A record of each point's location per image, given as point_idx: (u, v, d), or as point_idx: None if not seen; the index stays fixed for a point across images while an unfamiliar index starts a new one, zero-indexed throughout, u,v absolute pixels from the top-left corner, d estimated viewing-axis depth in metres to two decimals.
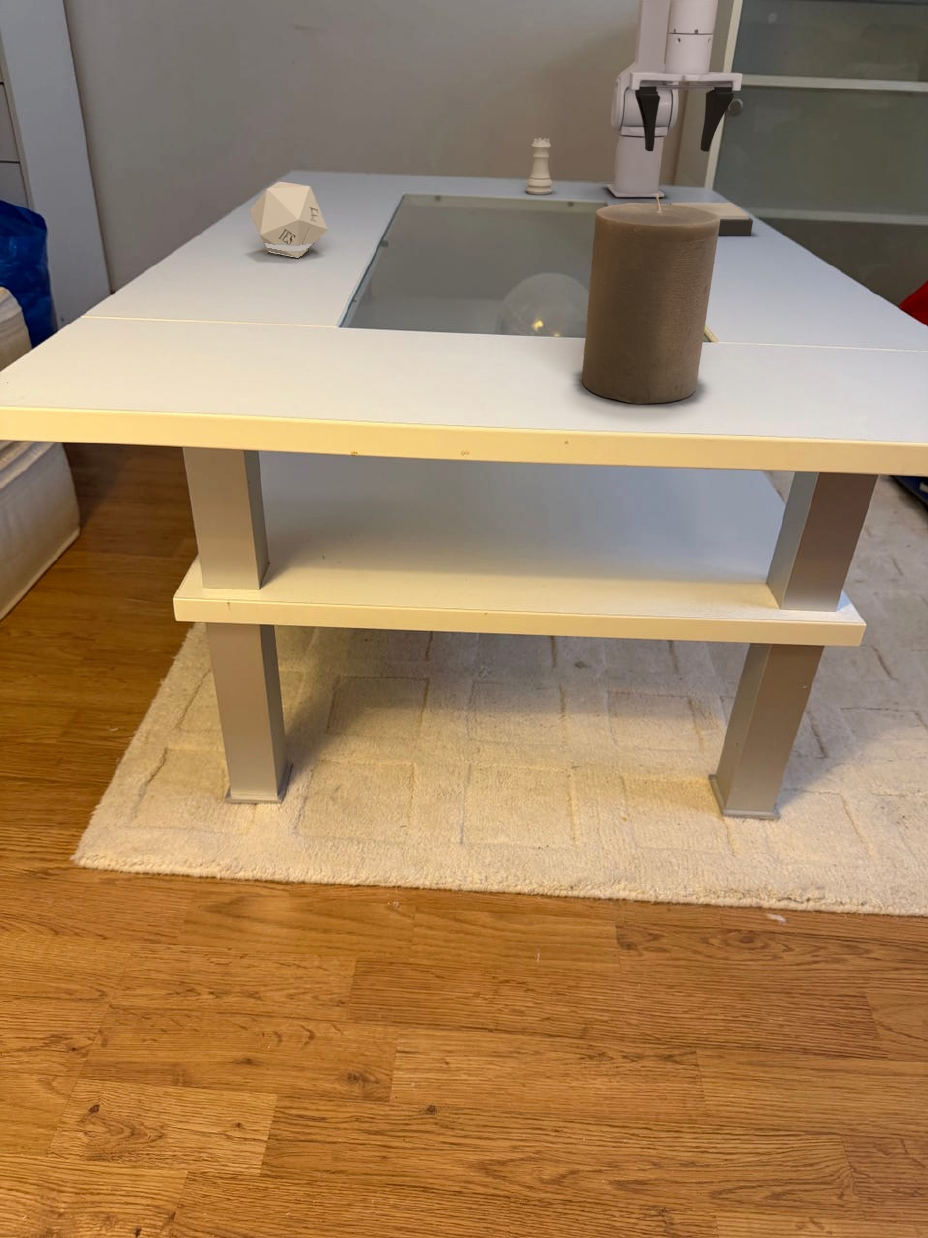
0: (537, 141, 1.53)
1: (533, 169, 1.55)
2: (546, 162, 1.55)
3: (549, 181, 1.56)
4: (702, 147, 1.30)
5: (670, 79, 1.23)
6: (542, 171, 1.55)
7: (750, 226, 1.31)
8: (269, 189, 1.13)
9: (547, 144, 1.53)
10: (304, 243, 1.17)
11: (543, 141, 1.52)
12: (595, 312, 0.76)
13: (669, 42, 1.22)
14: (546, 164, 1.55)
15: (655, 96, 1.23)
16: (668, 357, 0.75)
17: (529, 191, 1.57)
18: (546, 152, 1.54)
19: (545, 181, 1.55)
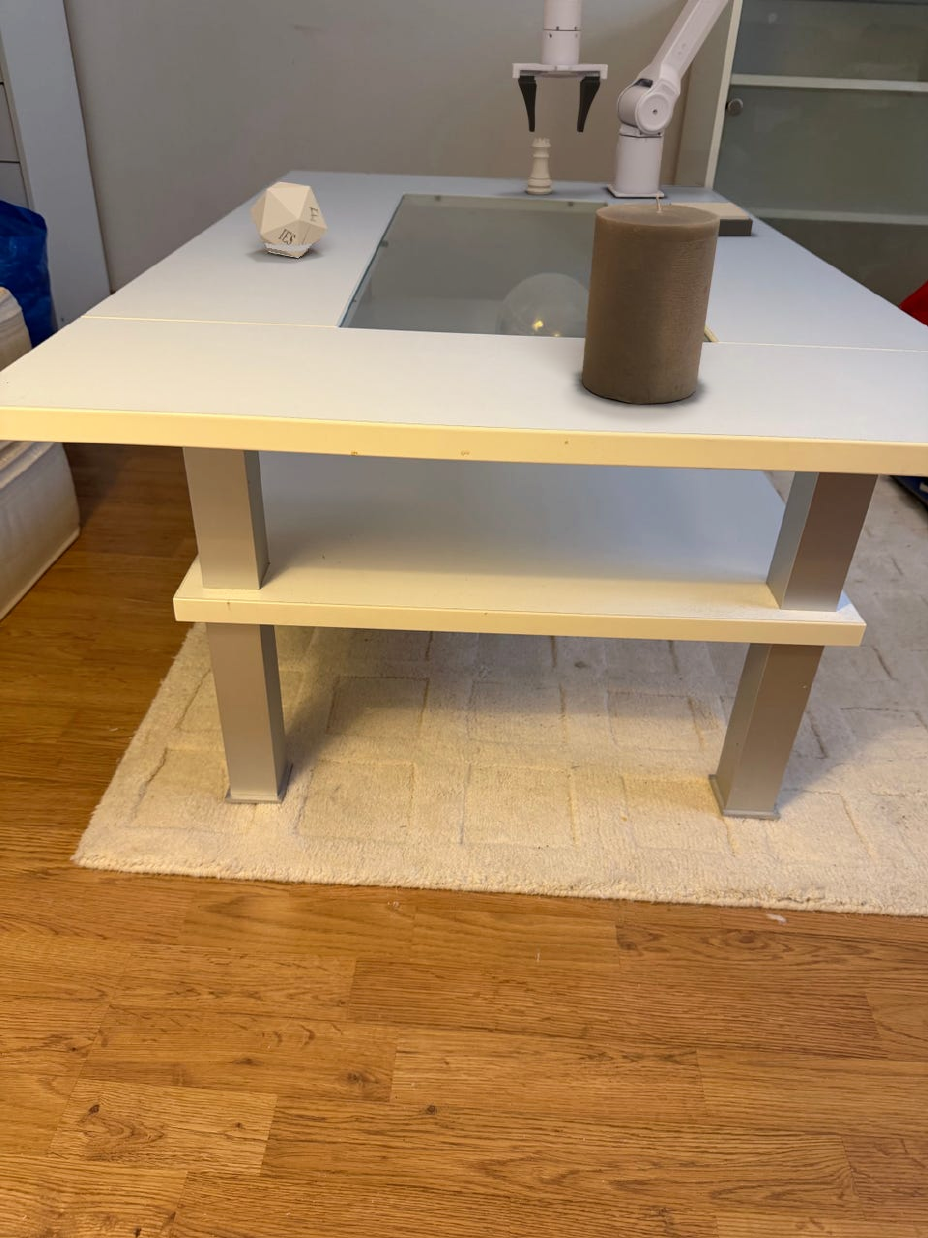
0: (537, 141, 1.53)
1: (533, 169, 1.55)
2: (546, 162, 1.55)
3: (549, 181, 1.56)
4: (578, 128, 1.50)
5: (544, 69, 1.43)
6: (542, 171, 1.55)
7: (750, 226, 1.31)
8: (269, 189, 1.13)
9: (547, 144, 1.53)
10: (304, 243, 1.17)
11: (543, 141, 1.52)
12: (595, 312, 0.76)
13: (543, 37, 1.42)
14: (546, 164, 1.55)
15: (532, 83, 1.44)
16: (668, 357, 0.75)
17: (529, 191, 1.57)
18: (546, 152, 1.54)
19: (545, 181, 1.55)
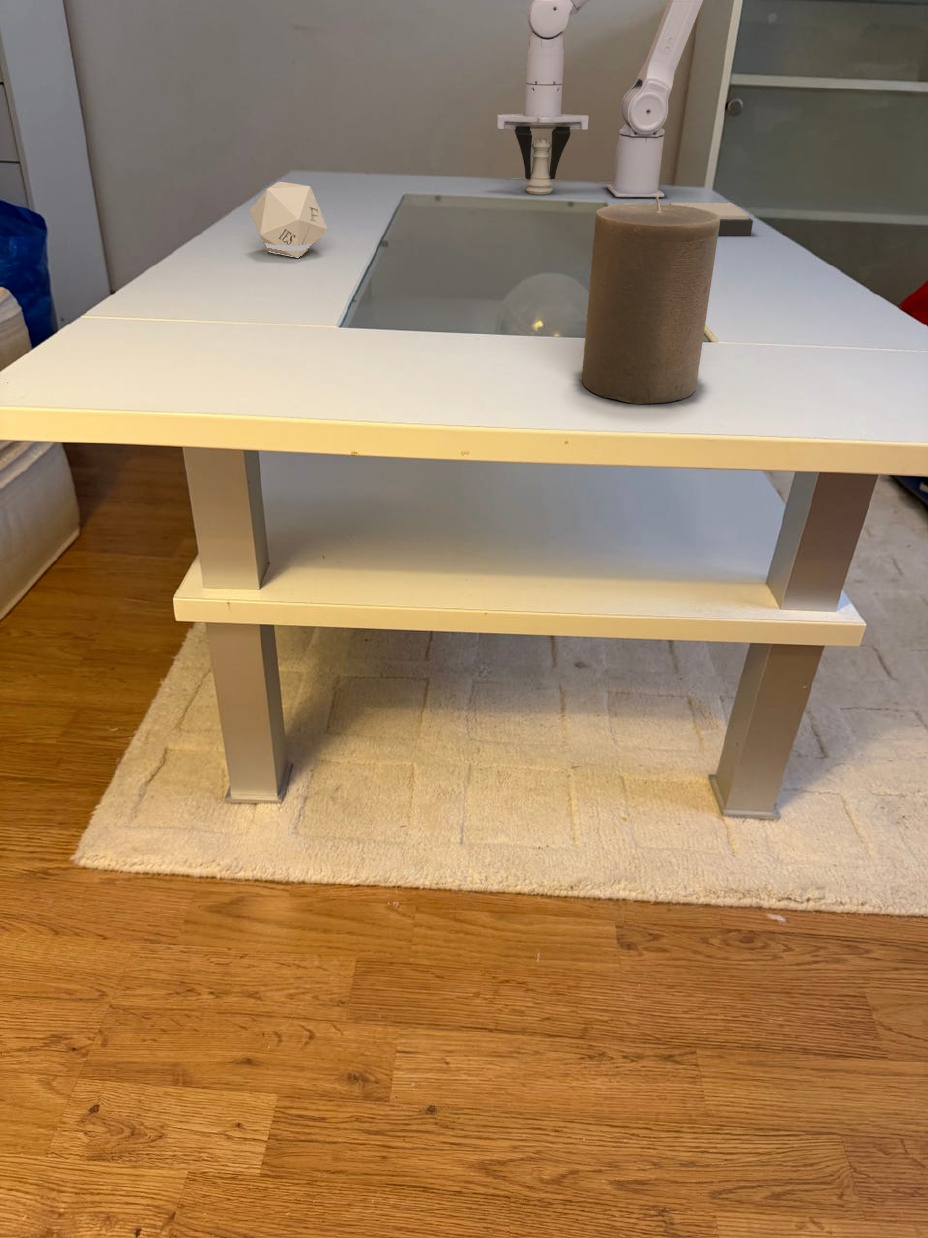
0: (537, 141, 1.53)
1: (533, 169, 1.55)
2: (546, 162, 1.55)
3: (549, 181, 1.56)
4: (550, 175, 1.56)
5: (528, 121, 1.50)
6: (542, 171, 1.55)
7: (750, 226, 1.31)
8: (269, 189, 1.13)
9: (547, 144, 1.53)
10: (304, 243, 1.17)
11: (543, 141, 1.52)
12: (595, 312, 0.76)
13: (526, 91, 1.49)
14: (546, 164, 1.55)
15: (528, 134, 1.50)
16: (668, 357, 0.75)
17: (529, 191, 1.57)
18: (546, 152, 1.54)
19: (545, 181, 1.55)
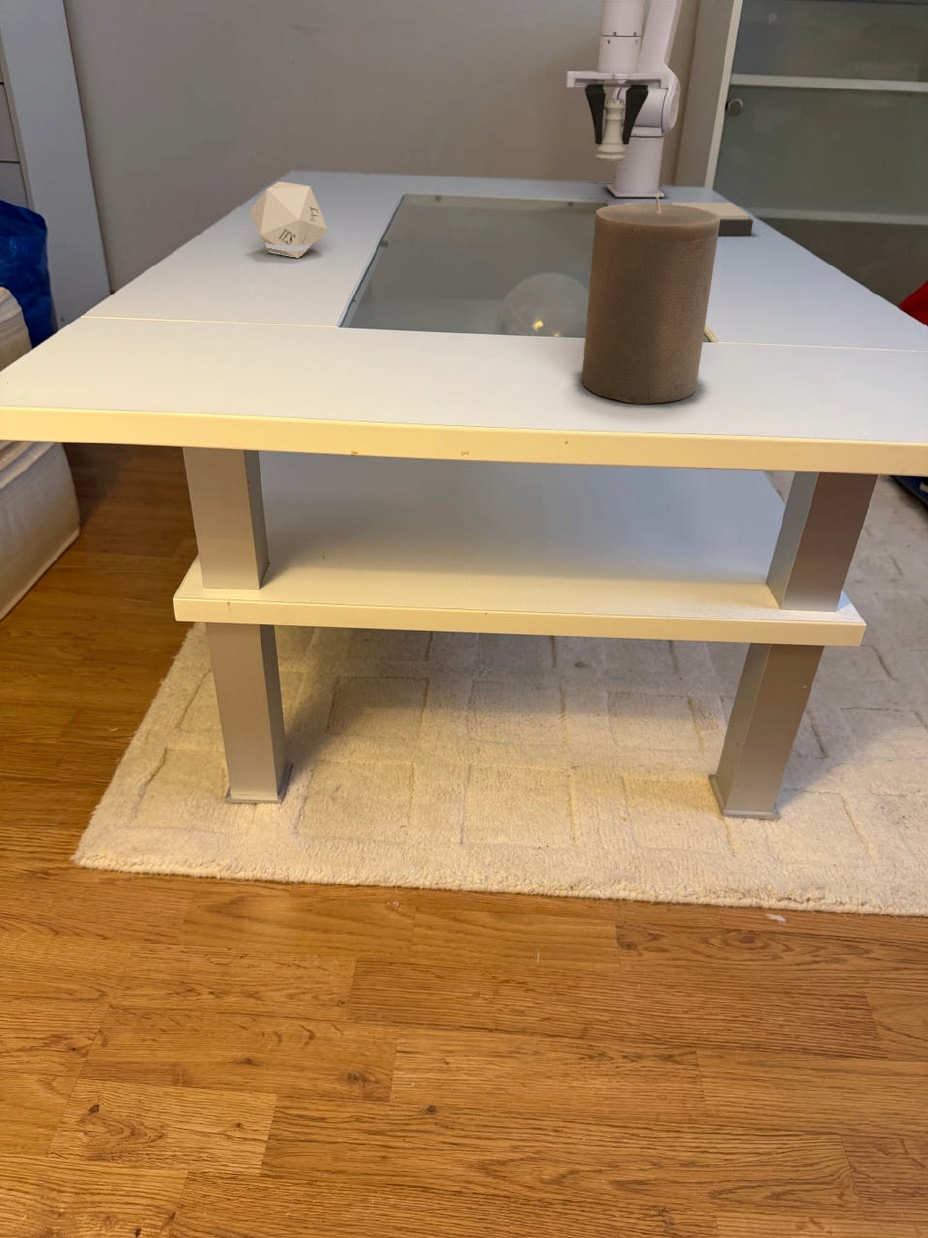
0: (611, 101, 1.37)
1: (605, 133, 1.39)
2: (619, 125, 1.38)
3: (622, 147, 1.40)
4: (623, 140, 1.40)
5: (601, 77, 1.34)
6: (615, 136, 1.39)
7: (750, 226, 1.31)
8: (269, 189, 1.13)
9: (622, 105, 1.37)
10: (304, 243, 1.17)
11: (617, 101, 1.36)
12: (595, 312, 0.76)
13: (600, 44, 1.33)
14: (620, 127, 1.39)
15: (601, 93, 1.34)
16: (668, 357, 0.75)
17: (600, 158, 1.40)
18: (620, 114, 1.38)
19: (618, 147, 1.39)
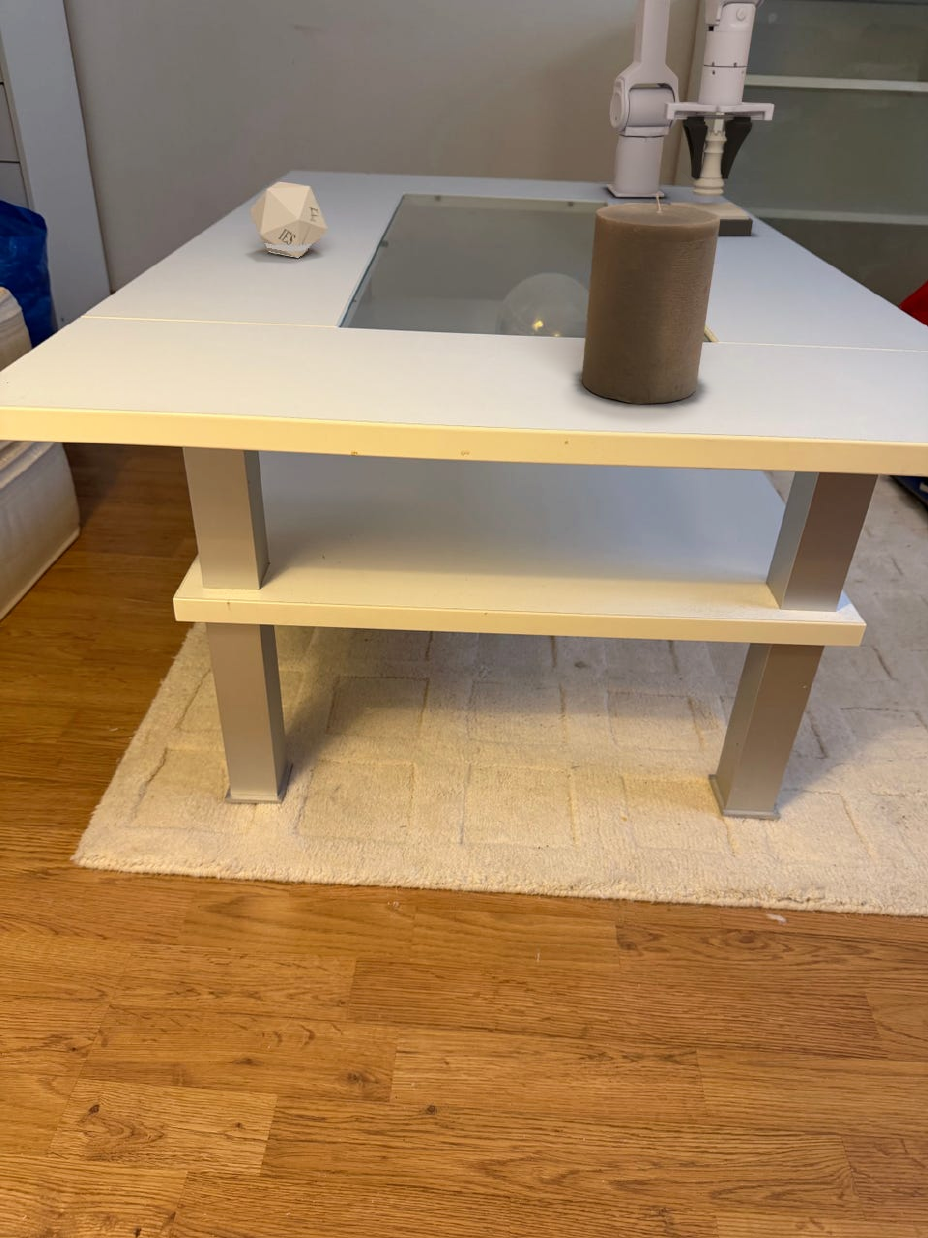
0: (712, 134, 1.29)
1: (703, 167, 1.32)
2: (719, 159, 1.31)
3: (721, 181, 1.33)
4: (721, 174, 1.33)
5: (704, 110, 1.27)
6: (715, 170, 1.32)
7: (750, 226, 1.31)
8: (269, 189, 1.13)
9: (723, 137, 1.30)
10: (304, 243, 1.17)
11: (719, 134, 1.29)
12: (595, 312, 0.76)
13: (703, 74, 1.26)
14: (719, 161, 1.32)
15: (703, 126, 1.27)
16: (668, 357, 0.75)
17: (697, 193, 1.33)
18: (721, 147, 1.31)
19: (717, 181, 1.32)
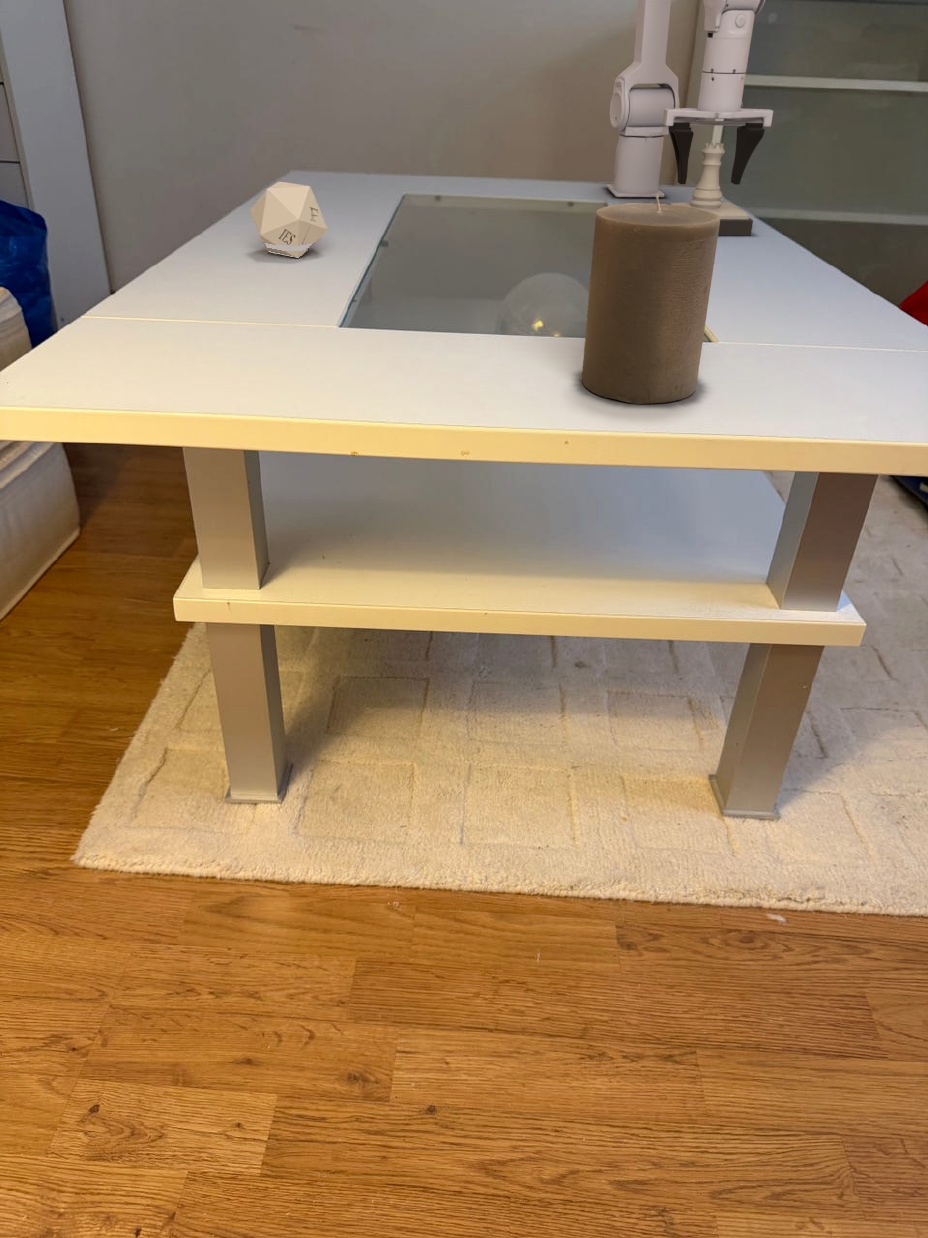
0: (710, 146, 1.30)
1: (702, 179, 1.33)
2: (718, 171, 1.32)
3: (720, 193, 1.33)
4: (733, 180, 1.34)
5: (703, 116, 1.27)
6: (713, 182, 1.32)
7: (750, 226, 1.31)
8: (269, 189, 1.13)
9: (721, 150, 1.30)
10: (304, 243, 1.17)
11: (717, 146, 1.30)
12: (595, 312, 0.76)
13: (703, 80, 1.26)
14: (718, 173, 1.32)
15: (689, 132, 1.28)
16: (668, 357, 0.75)
17: (695, 204, 1.34)
18: (719, 159, 1.31)
19: (715, 193, 1.33)
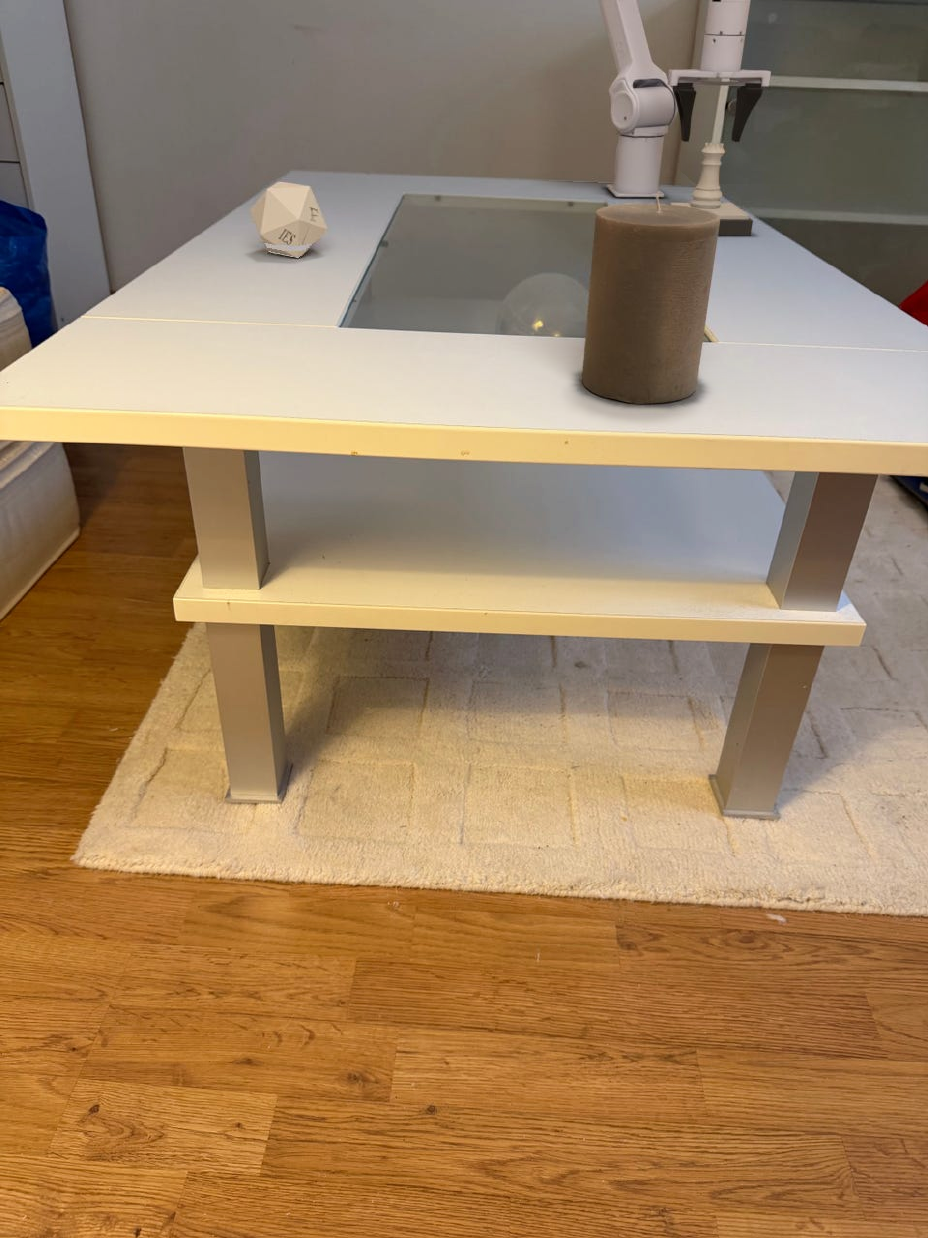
0: (710, 146, 1.30)
1: (702, 179, 1.33)
2: (718, 171, 1.32)
3: (720, 193, 1.33)
4: (733, 138, 1.43)
5: (706, 76, 1.36)
6: (713, 182, 1.33)
7: (750, 226, 1.31)
8: (269, 189, 1.13)
9: (721, 150, 1.30)
10: (304, 243, 1.17)
11: (717, 146, 1.30)
12: (595, 312, 0.76)
13: (705, 42, 1.35)
14: (718, 173, 1.32)
15: (692, 91, 1.36)
16: (668, 357, 0.75)
17: (695, 204, 1.34)
18: (719, 159, 1.31)
19: (715, 193, 1.33)
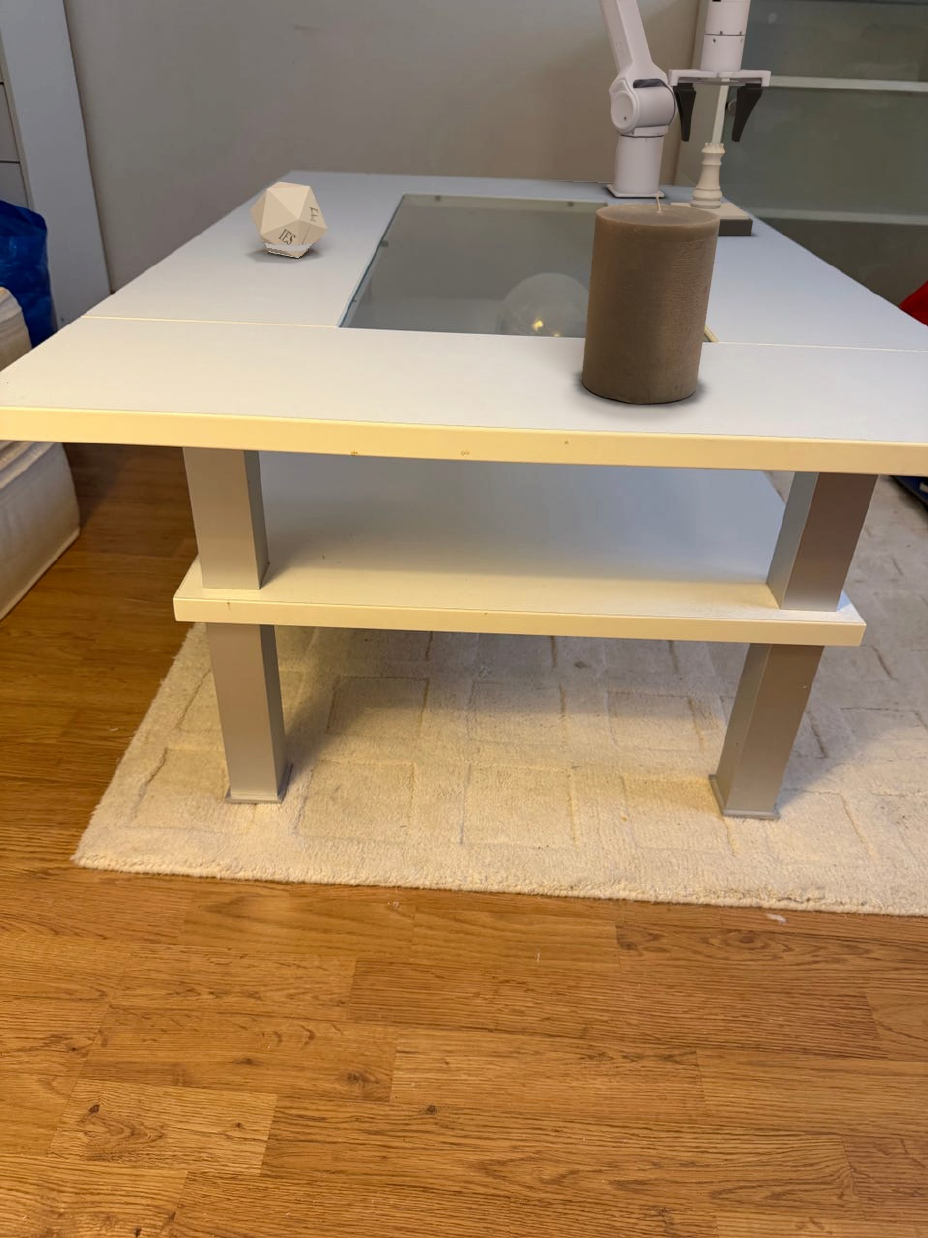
0: (710, 146, 1.30)
1: (702, 179, 1.33)
2: (718, 171, 1.32)
3: (720, 193, 1.33)
4: (733, 138, 1.43)
5: (706, 76, 1.36)
6: (713, 182, 1.33)
7: (750, 226, 1.31)
8: (269, 189, 1.13)
9: (721, 150, 1.30)
10: (304, 243, 1.17)
11: (717, 146, 1.30)
12: (595, 312, 0.76)
13: (705, 42, 1.35)
14: (718, 173, 1.32)
15: (692, 91, 1.36)
16: (668, 357, 0.75)
17: (695, 204, 1.34)
18: (719, 159, 1.31)
19: (715, 193, 1.33)
